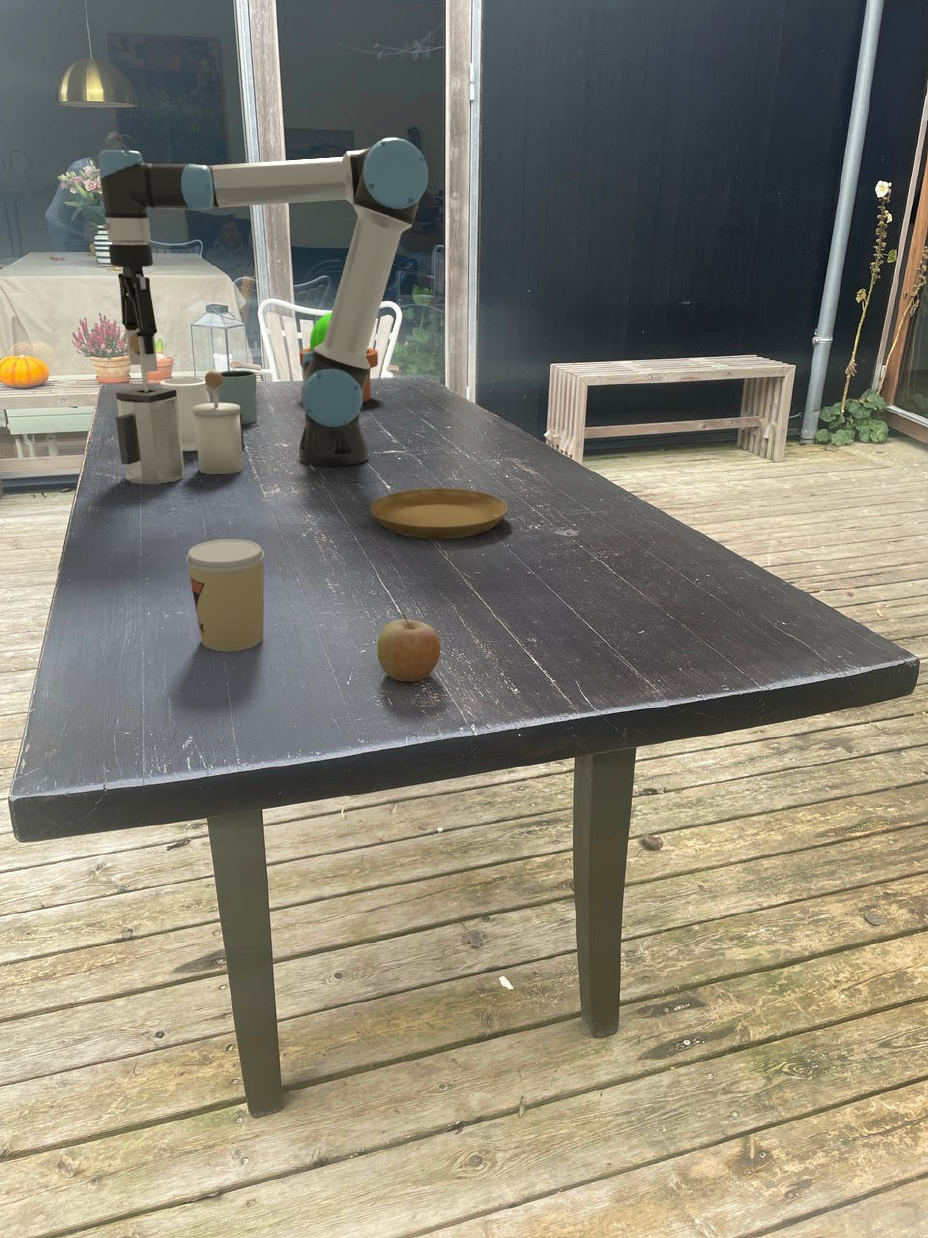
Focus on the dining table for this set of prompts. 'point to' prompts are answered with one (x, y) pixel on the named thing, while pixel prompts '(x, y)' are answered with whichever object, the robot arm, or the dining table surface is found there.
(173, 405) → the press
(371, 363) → the potted cactus
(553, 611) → the dining table surface
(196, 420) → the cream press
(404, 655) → the fruit
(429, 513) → the plant saucer
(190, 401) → the jar
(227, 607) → the coffee cup
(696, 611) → the dining table surface
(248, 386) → the teal pot
